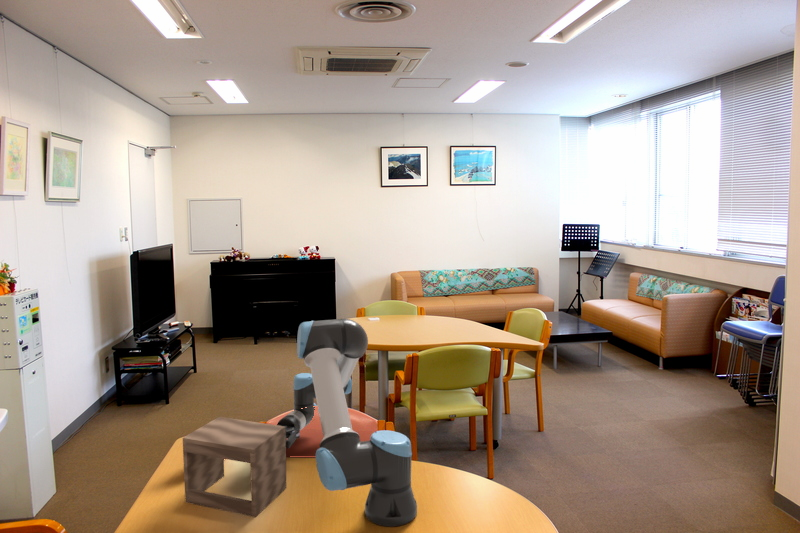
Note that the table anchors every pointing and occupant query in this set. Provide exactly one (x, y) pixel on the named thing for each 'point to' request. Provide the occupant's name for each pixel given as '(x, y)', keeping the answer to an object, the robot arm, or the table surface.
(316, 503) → the table surface
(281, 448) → the walnut cubby
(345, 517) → the table surface
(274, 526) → the table surface
